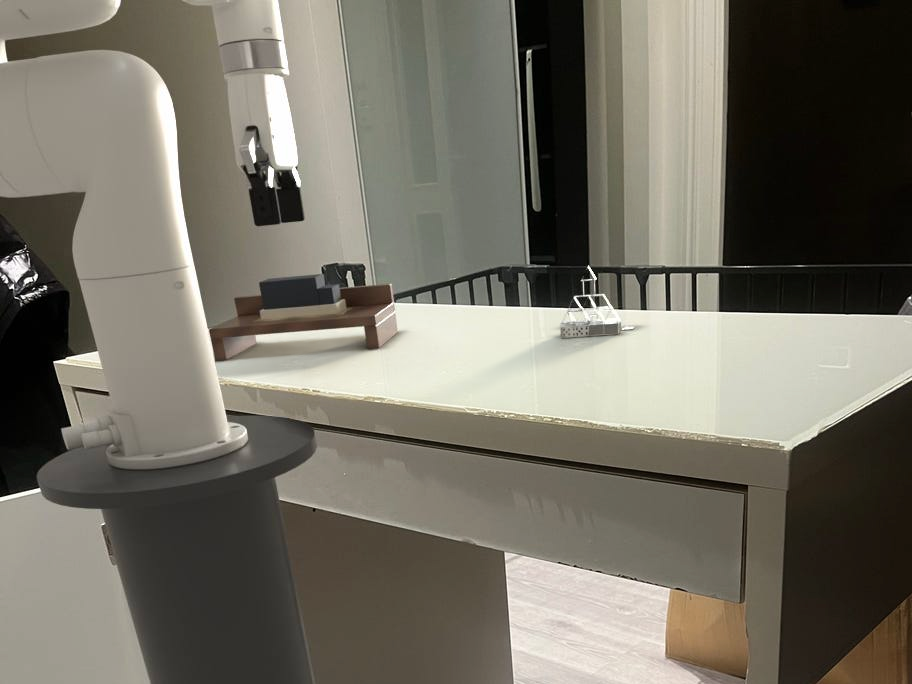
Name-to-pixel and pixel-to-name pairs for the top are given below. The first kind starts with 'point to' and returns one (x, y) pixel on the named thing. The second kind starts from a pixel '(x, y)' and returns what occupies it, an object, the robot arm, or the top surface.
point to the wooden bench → (309, 320)
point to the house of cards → (591, 326)
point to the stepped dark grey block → (299, 297)
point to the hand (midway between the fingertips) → (281, 223)
